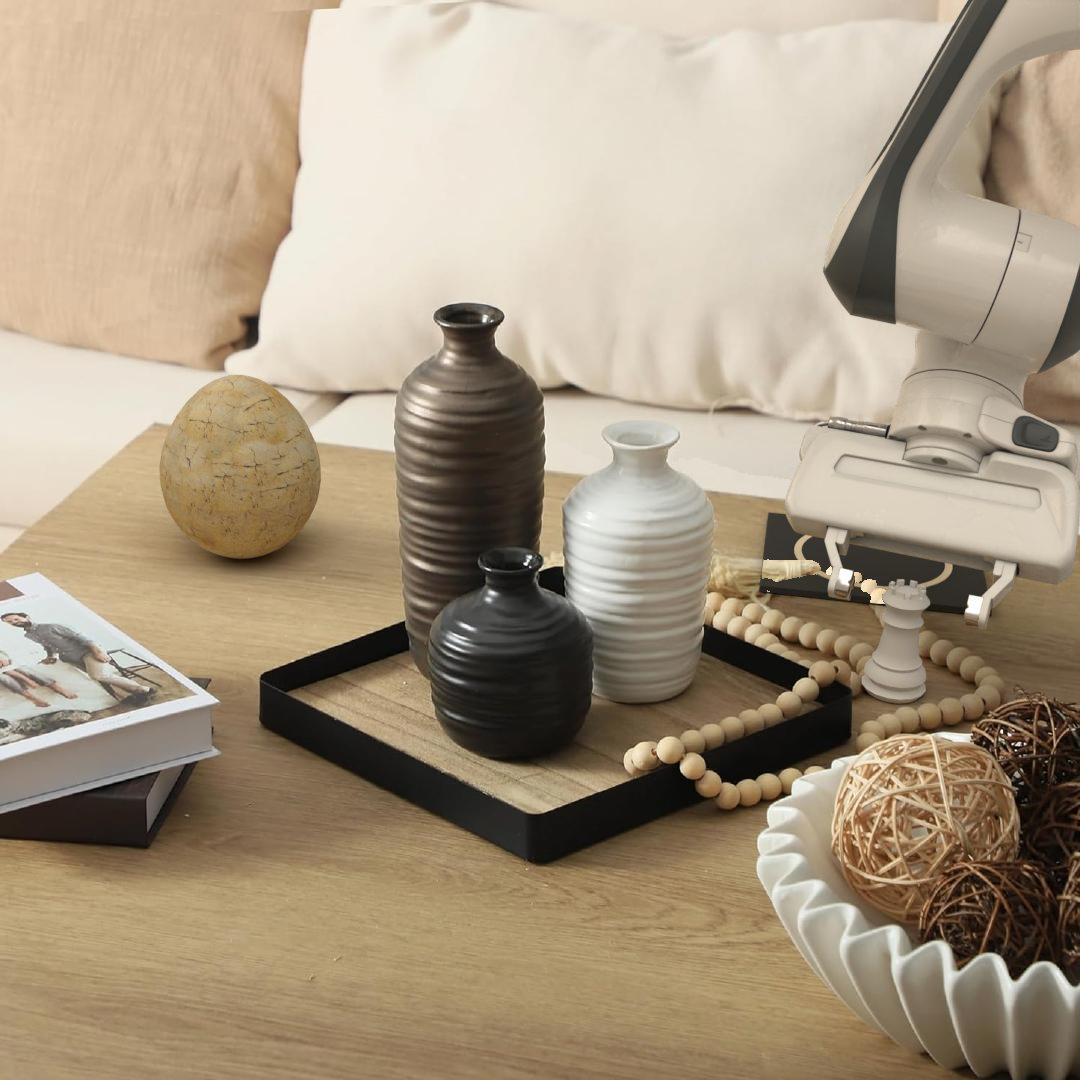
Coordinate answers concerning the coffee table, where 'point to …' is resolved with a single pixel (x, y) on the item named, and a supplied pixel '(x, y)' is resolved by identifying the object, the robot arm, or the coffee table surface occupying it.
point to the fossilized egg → (240, 468)
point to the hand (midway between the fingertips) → (905, 610)
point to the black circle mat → (867, 570)
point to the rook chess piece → (899, 647)
